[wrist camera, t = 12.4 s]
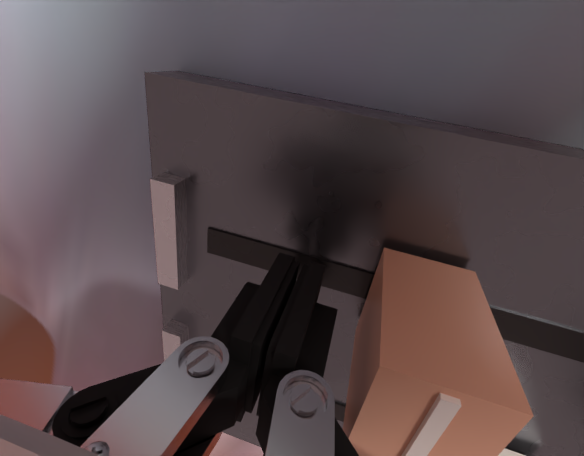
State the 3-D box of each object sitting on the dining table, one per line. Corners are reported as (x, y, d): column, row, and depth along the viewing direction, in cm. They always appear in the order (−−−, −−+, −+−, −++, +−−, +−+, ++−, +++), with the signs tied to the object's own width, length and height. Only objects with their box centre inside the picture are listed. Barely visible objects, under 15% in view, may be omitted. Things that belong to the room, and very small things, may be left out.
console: (178, 70, 13) (127, 73, 10) (876, 206, 9) (1054, 258, 7) (186, 384, 22) (162, 423, 20) (522, 509, 19) (541, 574, 16)
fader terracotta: (383, 247, 11) (379, 372, 7) (475, 271, 10) (536, 423, 6) (355, 329, 13) (337, 467, 9) (431, 352, 12) (454, 512, 8)
